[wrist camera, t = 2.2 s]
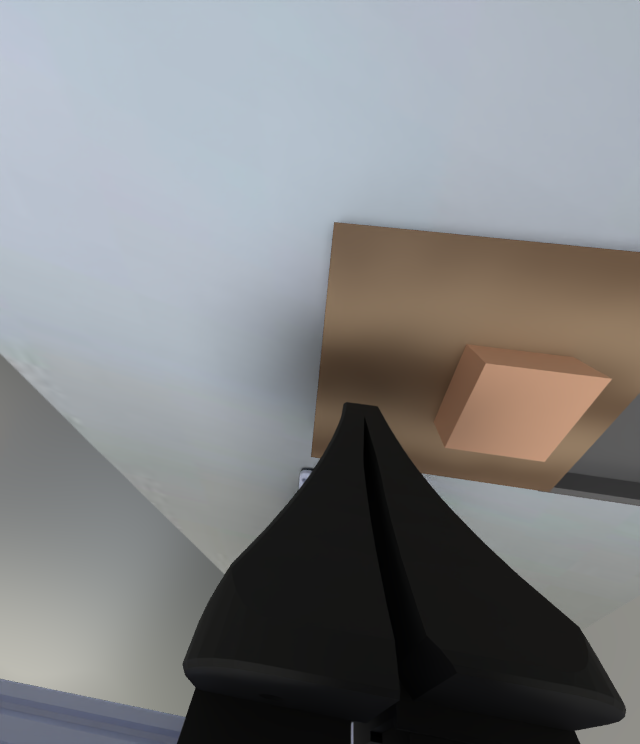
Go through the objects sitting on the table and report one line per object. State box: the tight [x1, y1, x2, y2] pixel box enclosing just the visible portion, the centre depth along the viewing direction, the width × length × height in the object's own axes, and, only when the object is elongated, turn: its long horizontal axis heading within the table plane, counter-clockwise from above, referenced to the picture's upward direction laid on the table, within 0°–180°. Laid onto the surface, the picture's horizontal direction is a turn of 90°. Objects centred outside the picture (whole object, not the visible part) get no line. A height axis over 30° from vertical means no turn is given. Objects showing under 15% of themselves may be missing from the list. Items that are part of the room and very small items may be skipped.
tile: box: [434, 344, 612, 462], centre depth 12 cm, size 5×5×2 cm
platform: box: [311, 222, 640, 492], centre depth 14 cm, size 14×16×3 cm
